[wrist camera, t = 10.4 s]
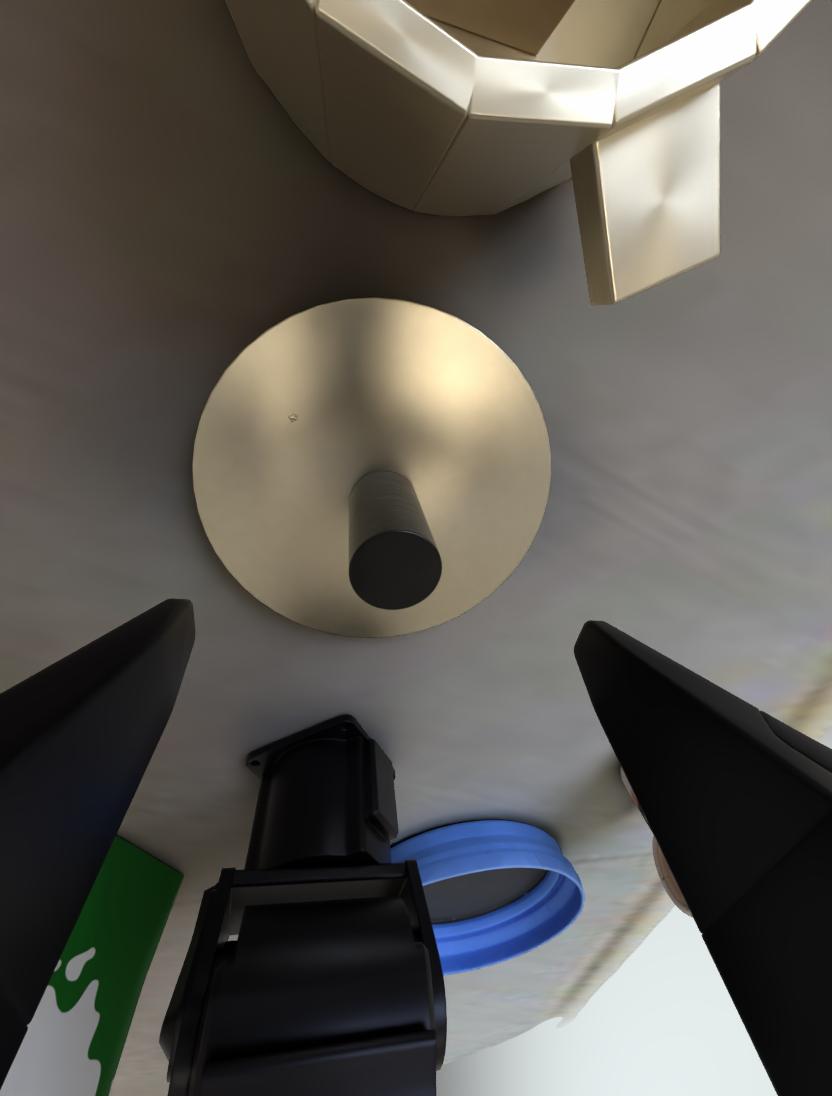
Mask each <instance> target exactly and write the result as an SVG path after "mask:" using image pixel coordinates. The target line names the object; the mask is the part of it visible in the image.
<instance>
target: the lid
mask: <svg viewBox="0 0 832 1096" xmlns="http://www.w3.org/2000/svg"><path fill="white" fill-rule="evenodd" d="M192 471H193V489H194V494H195V499H196V504H197V509H198V513H199V516H200V519H201V521H202V524H203V527H204V530H205V533H206V535H207V537H208V539H209V541H210V543H211V545H212V547H213V548H214V550H215V552H216V554H217V555H218V557H219V558H220V560H221V561H222V563H223V564H224V565H225V567H226V568H227V570H228V571H229V572H230V573H231V574H232V575H233V577H234V578H235V579H236V580H237V581H238V582H239V583H240V584H241V585H242V587H244V588H245V589H246V590H247V591H248V592H249V593H251V594H252V595H253V596H254V597H255V598H256V599H257V600H259V601H260V602H262V603H263V604H265V605H266V606H268V607H269V608H271V609H272V610H273V611H275V612H277V613H279V614H281V615H282V616H284V617H286V618H288V619H290V620H292V621H294V622H297V623H299V624H302V625H304V626H307V627H310V628H312V629H316V630H320V631H323V632H327V633H331V634H337V635H343V636H349V637H364V638H375V637H391V636H398V635H405V634H410V633H414V632H418V631H422V630H426V629H429V628H431V627H434V626H437V625H440V624H443V623H445V622H447V621H449V620H451V619H453V618H455V617H457V616H460V615H461V614H463V613H465V612H466V611H468V610H469V609H471V608H473V607H474V606H476V605H477V604H479V603H480V602H481V601H483V600H484V599H485V598H487V597H488V596H489V595H491V594H492V593H493V592H494V591H495V590H496V589H497V588H498V587H499V586H500V585H501V584H502V583H503V582H504V581H505V580H506V579H507V578H508V577H509V576H510V574H511V573H512V572H513V571H514V570H515V569H516V567H517V566H518V565H519V563H520V562H521V560H522V559H523V557H524V556H525V554H526V553H527V551H528V550H529V548H530V546H531V544H532V542H533V540H534V538H535V536H536V534H537V532H538V529H539V527H540V524H541V521H542V519H543V516H544V513H545V509H546V505H547V501H548V497H549V490H550V481H551V450H550V444H549V437H548V431H547V427H546V424H545V421H544V417H543V414H542V411H541V408H540V406H539V404H538V401H537V399H536V397H535V395H534V393H533V391H532V389H531V387H530V385H529V384H528V382H527V380H526V379H525V377H524V376H523V374H522V373H521V371H520V370H519V368H518V367H517V366H516V365H515V363H514V362H513V361H512V360H511V359H510V358H509V357H508V356H507V354H506V353H505V352H504V351H503V350H502V349H501V348H500V347H499V346H498V345H497V344H495V343H494V342H493V341H492V340H491V339H489V338H488V337H487V336H486V335H485V334H484V333H482V332H481V331H480V330H478V329H476V328H475V327H473V326H471V325H470V324H468V323H466V322H465V321H463V320H462V319H460V318H458V317H456V316H454V315H451V314H449V313H447V312H444V311H442V310H439V309H437V308H435V307H432V306H428V305H424V304H420V303H416V302H412V301H408V300H403V299H392V298H381V297H368V298H351V299H344V300H339V301H335V302H330V303H325V304H321V305H317V306H315V307H312V308H309V309H307V310H304V311H302V312H299V313H297V314H294V315H291V316H290V317H288V318H286V319H285V320H283V321H281V322H279V323H278V324H276V325H274V326H272V327H271V328H269V329H267V330H266V331H265V332H263V333H262V334H261V335H260V336H258V337H257V338H256V339H255V340H254V341H252V342H251V343H250V344H249V345H247V346H246V347H245V348H244V349H243V350H242V351H241V352H240V354H239V355H238V356H237V357H236V358H235V359H234V360H233V361H232V362H231V364H230V365H229V366H228V367H227V368H226V370H225V371H224V373H223V374H222V376H221V377H220V379H219V380H218V382H217V383H216V385H215V387H214V388H213V390H212V391H211V394H210V396H209V398H208V401H207V403H206V405H205V407H204V410H203V412H202V414H201V418H200V421H199V425H198V429H197V433H196V437H195V442H194V451H193V461H192Z"/></svg>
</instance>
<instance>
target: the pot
mask: <svg viewBox="0 0 832 1096" xmlns="http://www.w3.org/2000/svg"><path fill="white" fill-rule="evenodd" d="M812 1H813V0H575V2H574V3H573V4H572V6H571V7H570V9H569V10H568V11H567V13H566V14H565V16H564V17H563V19H562V20H561V21H560V23H559V24H558V26H557V27H556V28H555V30H554V31H553V33H552V34H551V36H550V37H549V38H548V40H547V41H546V43H545V44H544V45H543V47H542V48H541V50H540V51H539V53H538V54H537V55H534V54H531V53H528V52H525V51H523V50H520V49H517V48H514V47H512V46H509V45H506V44H503V43H500V42H498V41H495V40H492V39H489V38H487V37H484V36H481V35H478V34H476V33H473V32H470V31H467V30H465V29H462V28H459V27H456V26H453V25H451V24H448V23H445V22H442V21H440V20H437V19H434V18H431V17H429V16H426V15H424V14H422V13H421V12H420V11H418V10H417V9H416V8H414V7H413V6H412V5H410V4H409V3H408V2H406V1H405V0H225V2H226V5H227V7H228V9H229V12H230V14H231V16H232V19H233V21H234V23H235V26H236V28H237V31H238V33H239V35H240V38H241V40H242V43H243V45H244V47H245V50H246V52H247V55H248V57H249V59H250V62H251V63H252V64H253V66H254V69H255V71H256V72H257V73H258V74H259V76H260V77H261V78H262V79H263V81H264V82H265V83H266V84H267V86H268V87H269V88H270V90H271V92H272V93H273V94H274V96H275V97H276V99H277V100H278V101H279V103H280V104H281V105H282V107H283V108H284V110H285V111H286V112H287V114H288V115H289V117H290V118H291V119H292V121H293V122H294V124H295V125H296V126H297V127H298V128H299V129H300V130H301V132H302V133H303V134H304V135H305V136H306V137H307V138H308V139H309V141H310V142H311V143H312V144H313V145H314V146H315V147H316V148H317V149H318V151H319V152H320V153H321V154H322V155H323V156H324V157H325V158H326V159H327V161H328V162H330V163H332V165H333V166H334V167H336V168H338V169H339V170H341V171H342V172H343V173H344V174H345V175H346V176H348V177H349V178H351V179H352V180H354V181H355V182H357V183H358V184H360V185H361V186H363V187H364V188H366V189H367V190H369V191H370V192H372V193H374V194H376V195H378V196H380V197H382V198H384V199H386V200H388V201H390V202H392V203H394V204H396V205H399V206H402V207H405V208H407V209H409V210H413V211H414V212H422V213H426V214H434V215H442V216H449V217H455V216H477V215H493V214H498V213H500V212H502V211H504V210H506V209H508V208H510V207H512V206H514V205H517V204H519V203H522V202H524V201H527V200H529V199H530V198H532V197H534V196H536V195H537V194H539V193H541V192H543V191H545V190H548V189H550V188H552V187H554V186H556V185H558V184H560V183H562V182H564V181H566V180H568V179H570V178H572V181H573V187H574V194H575V201H576V208H577V215H578V222H579V228H580V235H581V242H582V249H583V256H584V263H585V269H586V276H587V283H588V290H589V297H590V303H591V305H608V304H616V303H618V302H621V301H623V300H625V299H627V298H629V297H632V296H634V295H636V294H638V293H640V292H643V291H645V290H647V289H649V288H651V287H654V286H656V285H658V284H660V283H662V282H665V281H667V280H669V279H671V278H673V277H676V276H678V275H680V274H682V273H684V272H687V271H689V270H691V269H693V268H695V267H698V266H700V265H702V264H704V263H706V262H709V261H711V260H713V259H715V258H716V257H718V256H719V255H720V252H721V81H723V80H724V79H726V78H727V77H729V76H730V75H732V74H734V73H735V72H737V71H738V70H740V69H741V68H743V67H744V66H746V65H748V64H749V63H750V62H751V61H753V60H754V59H756V58H758V57H759V56H760V55H761V54H762V53H763V52H764V51H765V50H766V49H767V48H768V47H769V46H770V45H771V44H772V43H773V42H774V41H775V40H776V38H777V37H778V36H779V35H780V34H781V33H782V32H783V31H784V30H785V29H786V28H787V27H788V26H789V25H790V24H791V23H792V22H793V21H794V20H795V19H796V17H797V16H798V15H799V14H800V13H801V12H802V11H803V10H804V9H805V8H806V7H807V6H808V5H809V4H810V3H811V2H812Z"/></svg>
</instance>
